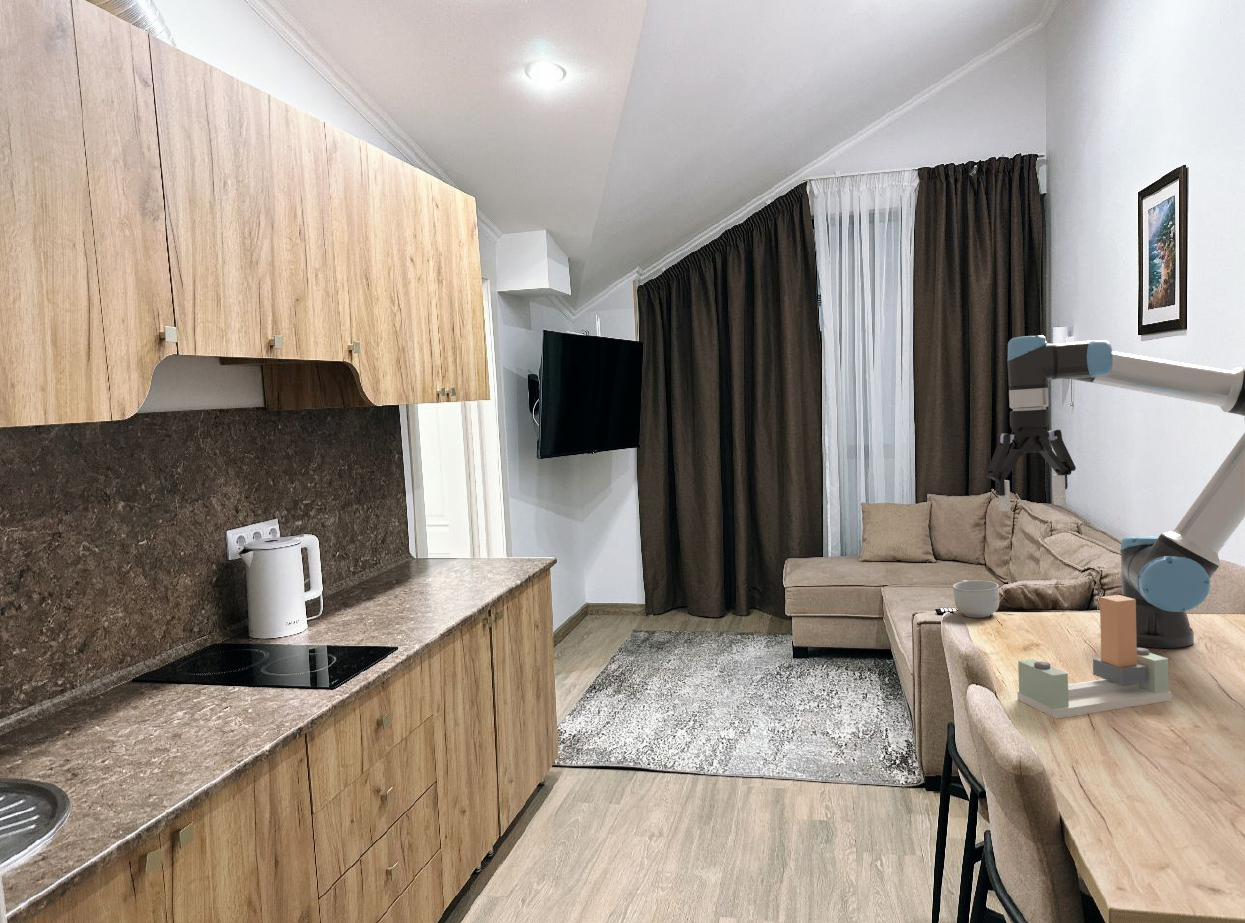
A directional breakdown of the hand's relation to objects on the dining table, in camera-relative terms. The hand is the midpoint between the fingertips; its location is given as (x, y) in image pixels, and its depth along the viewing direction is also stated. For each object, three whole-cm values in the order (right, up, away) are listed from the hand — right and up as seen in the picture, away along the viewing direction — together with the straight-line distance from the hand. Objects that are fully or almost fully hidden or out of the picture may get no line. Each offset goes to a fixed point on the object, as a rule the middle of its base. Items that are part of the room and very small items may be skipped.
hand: (1032, 508), depth 183 cm
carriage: (+3, -30, -26) cm, 40 cm away
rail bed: (-2, -34, -27) cm, 43 cm away
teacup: (+3, -29, +36) cm, 47 cm away
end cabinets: (-2, -32, -28) cm, 42 cm away
